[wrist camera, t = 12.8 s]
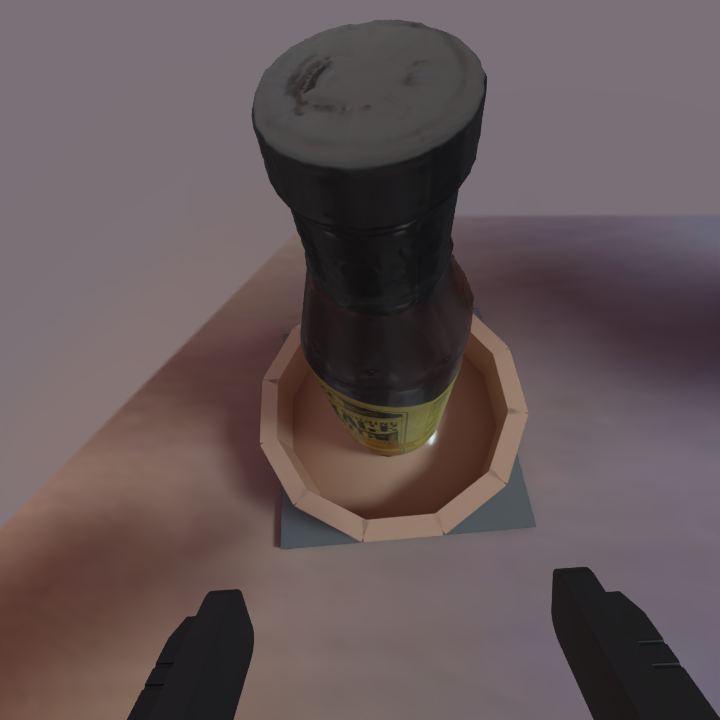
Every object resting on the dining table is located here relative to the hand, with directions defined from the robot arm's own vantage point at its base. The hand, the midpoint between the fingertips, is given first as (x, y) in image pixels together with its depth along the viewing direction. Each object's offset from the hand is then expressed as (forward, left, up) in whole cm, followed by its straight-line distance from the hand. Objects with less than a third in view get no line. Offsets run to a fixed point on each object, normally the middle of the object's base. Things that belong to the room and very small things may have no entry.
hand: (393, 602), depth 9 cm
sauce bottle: (0, -9, -12) cm, 15 cm away
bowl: (0, -9, -13) cm, 16 cm away
